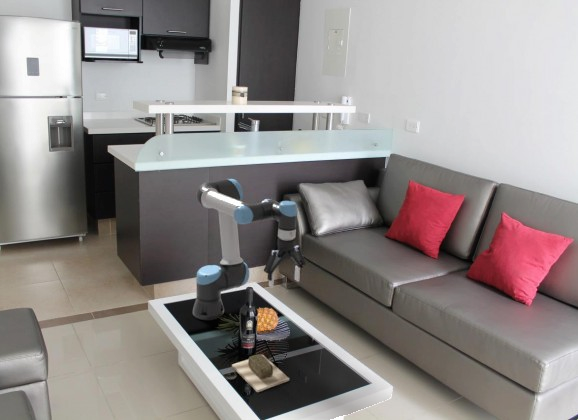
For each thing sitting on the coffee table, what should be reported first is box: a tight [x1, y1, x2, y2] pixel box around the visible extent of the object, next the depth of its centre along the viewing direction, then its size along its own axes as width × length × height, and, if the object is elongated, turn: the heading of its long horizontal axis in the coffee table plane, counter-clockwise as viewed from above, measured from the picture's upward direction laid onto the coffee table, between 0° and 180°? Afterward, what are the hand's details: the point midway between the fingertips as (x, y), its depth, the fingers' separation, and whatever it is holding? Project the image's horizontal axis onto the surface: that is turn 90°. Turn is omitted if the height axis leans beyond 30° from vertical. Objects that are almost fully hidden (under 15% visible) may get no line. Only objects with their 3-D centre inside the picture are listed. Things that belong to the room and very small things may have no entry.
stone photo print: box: [231, 354, 290, 393], centre depth 222 cm, size 20×15×1 cm
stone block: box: [248, 353, 273, 378], centre depth 221 cm, size 6×12×5 cm, turn 34°
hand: (284, 283), depth 238 cm, fingers open, 13 cm apart
